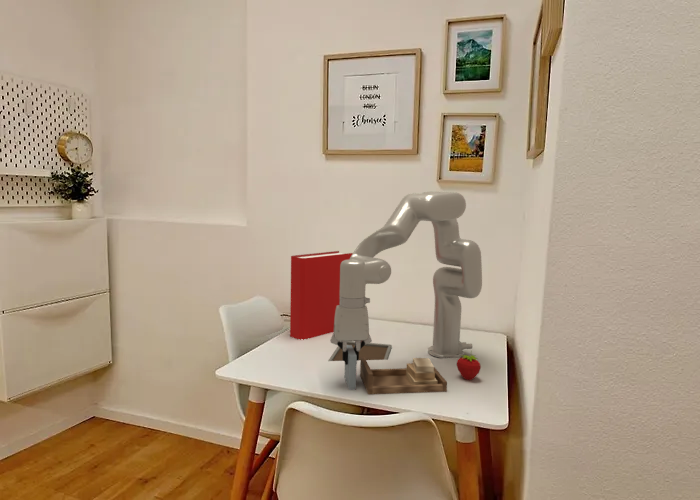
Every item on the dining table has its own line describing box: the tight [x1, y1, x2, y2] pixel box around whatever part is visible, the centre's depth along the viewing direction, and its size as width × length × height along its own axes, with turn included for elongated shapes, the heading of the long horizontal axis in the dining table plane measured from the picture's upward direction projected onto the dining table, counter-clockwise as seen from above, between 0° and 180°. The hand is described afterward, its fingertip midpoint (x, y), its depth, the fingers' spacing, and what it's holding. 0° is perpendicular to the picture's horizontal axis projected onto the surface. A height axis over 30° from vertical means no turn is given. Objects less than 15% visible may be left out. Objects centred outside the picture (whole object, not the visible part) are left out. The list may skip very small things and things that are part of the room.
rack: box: [359, 357, 448, 395], centre depth 144 cm, size 23×14×7 cm, turn 98°
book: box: [289, 250, 353, 341], centre depth 196 cm, size 27×8×32 cm, turn 136°
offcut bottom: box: [406, 371, 438, 385], centre depth 145 cm, size 7×9×2 cm
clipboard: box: [327, 341, 393, 362], centre depth 170 cm, size 19×2×30 cm
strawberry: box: [456, 349, 482, 381], centre depth 149 cm, size 6×8×10 cm
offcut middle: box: [406, 362, 435, 381], centre depth 145 cm, size 6×8×2 cm
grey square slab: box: [343, 345, 358, 391], centre depth 143 cm, size 2×10×11 cm, turn 8°
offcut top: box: [412, 357, 435, 373], centre depth 144 cm, size 5×7×2 cm
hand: (350, 362), depth 143 cm, fingers closed on grey square slab, 2 cm apart
